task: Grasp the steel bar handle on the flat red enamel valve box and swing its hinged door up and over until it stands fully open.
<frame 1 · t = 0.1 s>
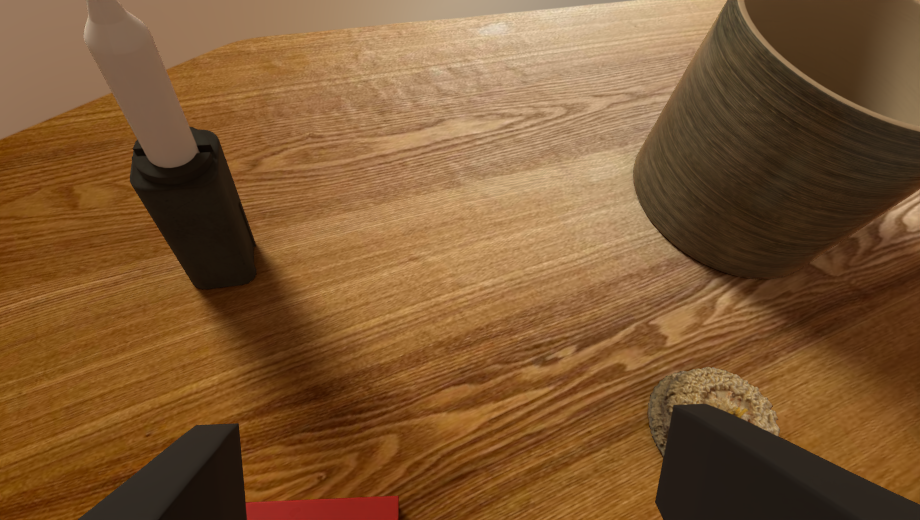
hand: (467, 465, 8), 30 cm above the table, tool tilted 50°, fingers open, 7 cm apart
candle: (225, 262, 43), on the table
cake: (702, 430, 41), on the table
planter: (721, 199, 56), on the table
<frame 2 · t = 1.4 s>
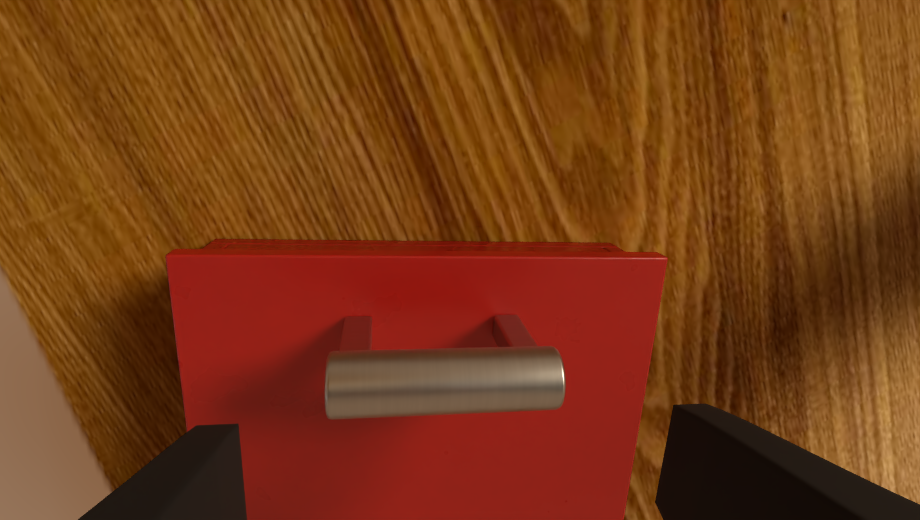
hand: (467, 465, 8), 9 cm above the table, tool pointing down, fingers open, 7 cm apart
valve box: (420, 370, 18), on the table
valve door: (435, 459, 13), point 5 cm above the table, hinge at 0.0°
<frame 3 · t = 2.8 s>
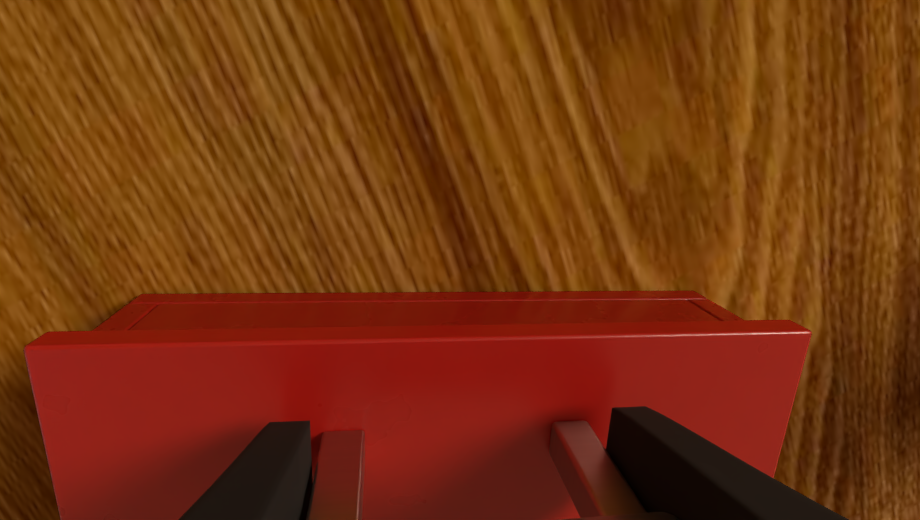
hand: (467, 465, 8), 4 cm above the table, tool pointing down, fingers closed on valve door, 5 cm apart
valve box: (434, 463, 13), on the table
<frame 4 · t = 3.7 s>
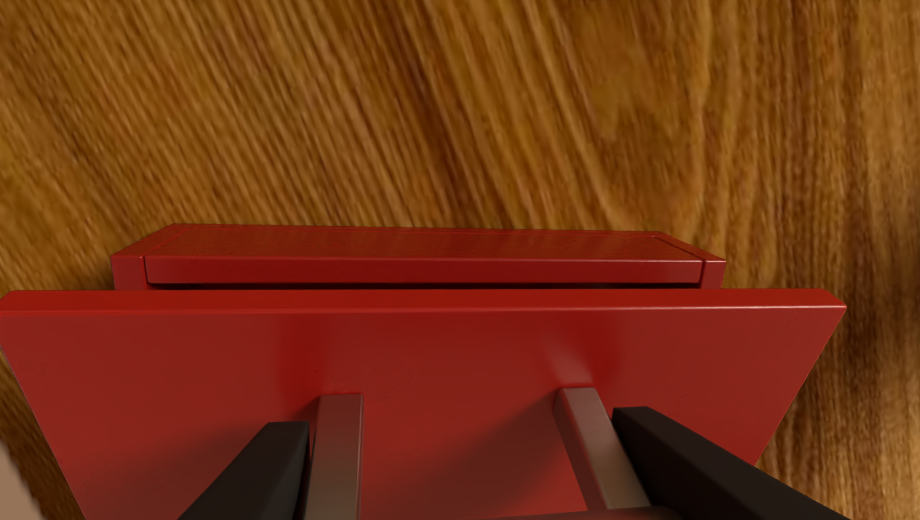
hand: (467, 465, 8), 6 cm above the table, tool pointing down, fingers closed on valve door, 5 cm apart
valve box: (428, 386, 15), on the table
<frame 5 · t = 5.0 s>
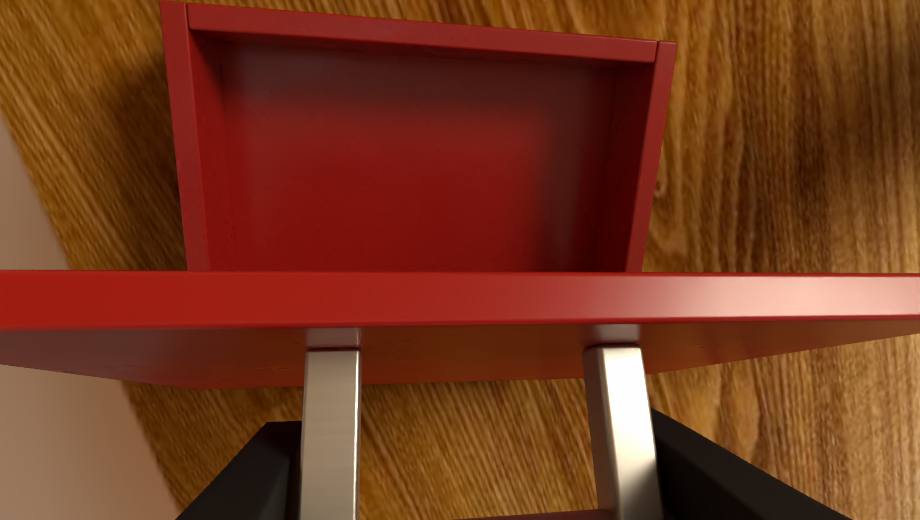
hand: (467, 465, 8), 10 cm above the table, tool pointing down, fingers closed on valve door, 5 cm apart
valve box: (424, 194, 17), on the table
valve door: (452, 446, 10), point 9 cm above the table, hinge at 56.7°, touching gripper
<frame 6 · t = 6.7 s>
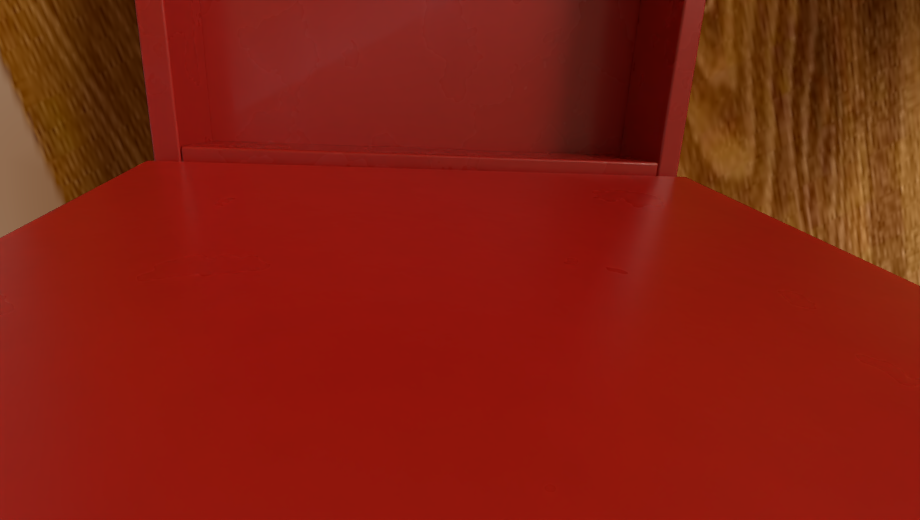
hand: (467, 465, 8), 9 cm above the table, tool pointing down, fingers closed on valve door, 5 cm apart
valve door: (462, 363, 8), point 8 cm above the table, hinge at 97.4°, touching gripper
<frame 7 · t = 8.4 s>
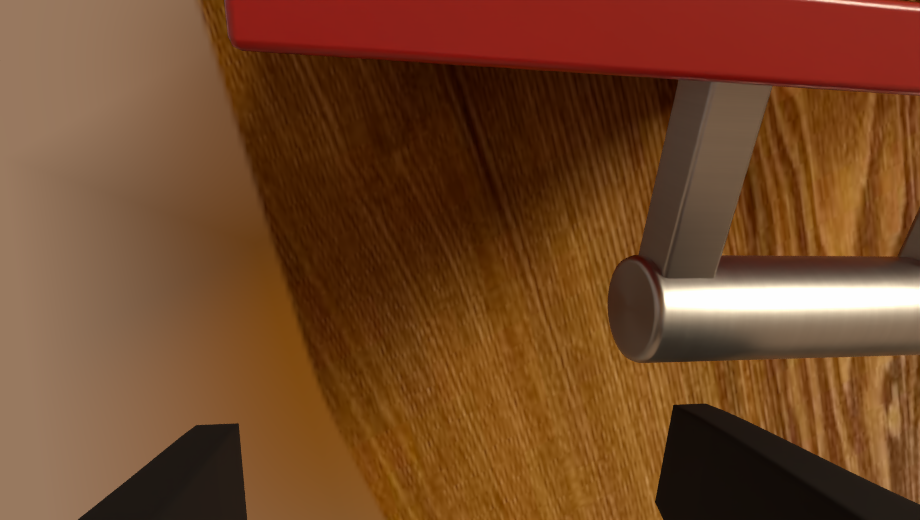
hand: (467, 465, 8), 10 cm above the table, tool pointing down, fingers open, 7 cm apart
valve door: (696, 157, 9), point 8 cm above the table, hinge at 97.4°
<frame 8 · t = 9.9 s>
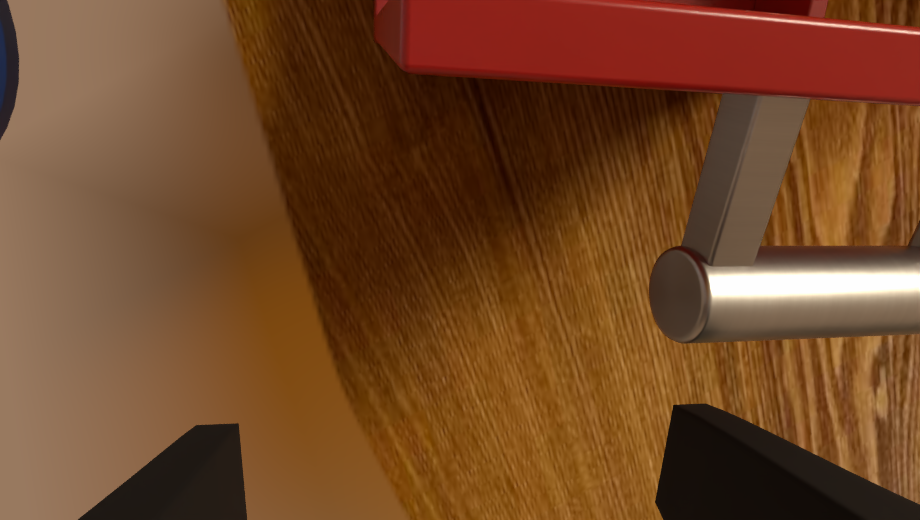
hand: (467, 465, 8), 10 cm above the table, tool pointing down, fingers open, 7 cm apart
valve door: (718, 154, 10), point 8 cm above the table, hinge at 97.4°
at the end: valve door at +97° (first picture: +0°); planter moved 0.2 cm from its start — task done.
